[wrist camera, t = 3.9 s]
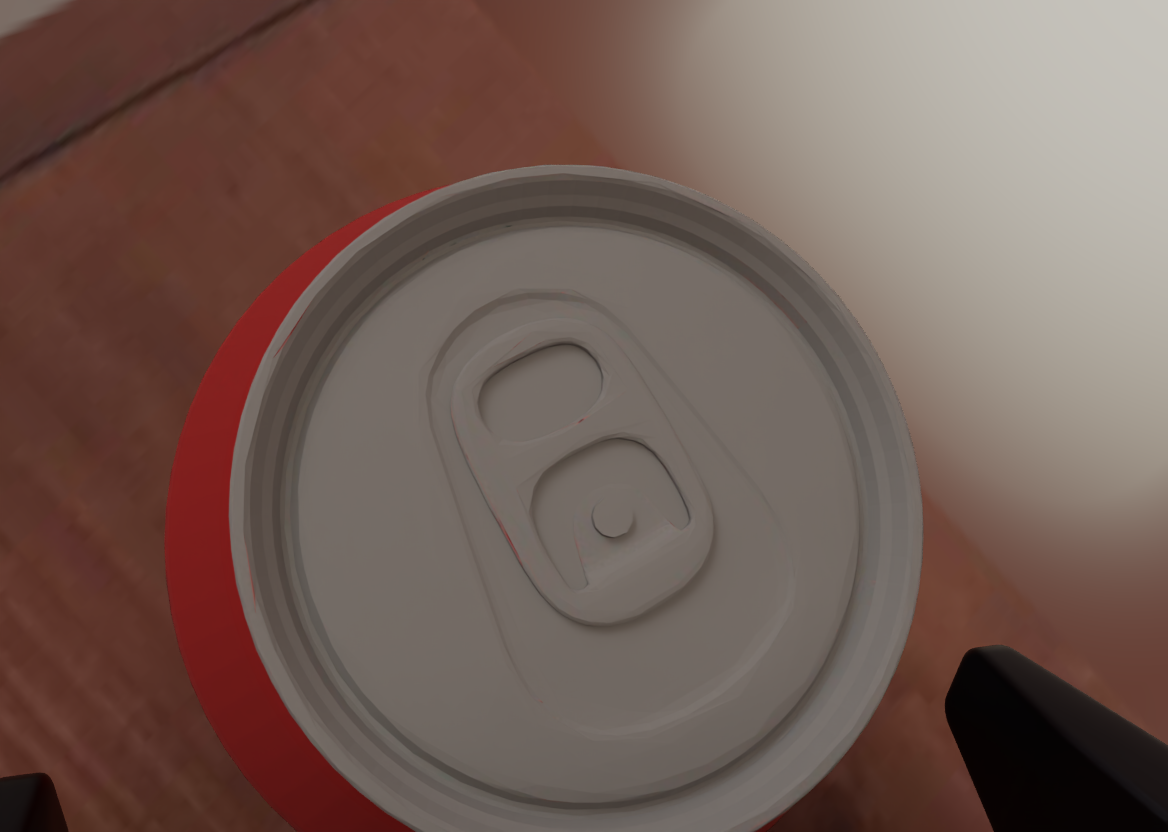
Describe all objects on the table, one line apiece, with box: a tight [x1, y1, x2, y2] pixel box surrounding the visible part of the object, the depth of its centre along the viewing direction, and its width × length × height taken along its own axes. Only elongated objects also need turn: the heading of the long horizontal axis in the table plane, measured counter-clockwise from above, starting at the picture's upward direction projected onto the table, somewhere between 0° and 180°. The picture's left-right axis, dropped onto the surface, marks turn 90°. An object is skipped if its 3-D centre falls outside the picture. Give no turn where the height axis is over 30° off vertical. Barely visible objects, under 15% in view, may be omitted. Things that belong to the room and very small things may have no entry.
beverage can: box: [165, 165, 923, 832], centre depth 13 cm, size 7×7×12 cm
